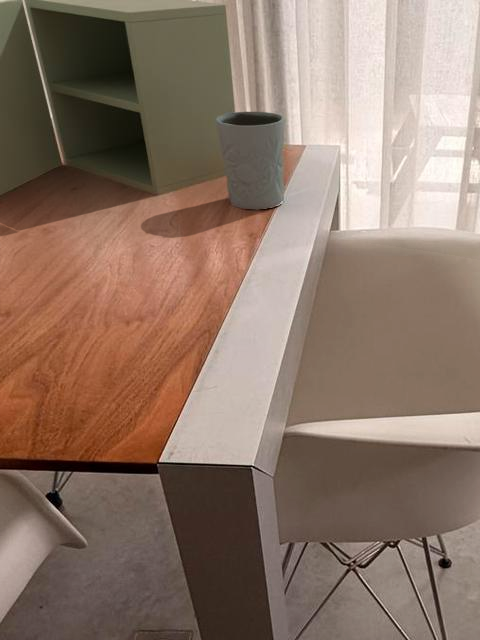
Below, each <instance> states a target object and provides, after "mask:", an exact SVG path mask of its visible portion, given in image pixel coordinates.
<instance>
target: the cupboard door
mask: <svg viewBox="0 0 480 640" xmlns="http://www.w3.org/2000/svg"><path fill="white" fill-rule="evenodd" d="M30 30H31V29H30V25H29V23H28V17H27V14H26V11H25V6H24V0H1V1H0V197H1V196H3V195H4V194H6V193H9V192H11V191H13V190H14V189H15V190H16V189H17V188H19V187H21V186H22V185H25V184H27V183H28V182H30V181H33V180H34V179H36V178H39V177H41V176H43V175H44V174H47V173H49V172H51V171H53V170H55V169H57V168H59V167H60V166H63V160H62V156H61V152H60V148H59V145H58V144H59V143H58V139H57V137H56V136H57V135H56V131H55V127H54V123H53V119H52V115H51V112H50V107H49V104H48V101H47V100H48V98H47V96H46V95H47V94H46V90H45V88H44V87H45V86H44V84H43V83H44V82H43V80H42V79H43V78H42V76H41V75H42V74H41V70H40V68H39V67H40V66H39V63H38V59H37V54H36V51H35V50H36V49H35V47H34V41H33V37H32V33H31V31H30Z"/></svg>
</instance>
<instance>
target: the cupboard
mask: <svg viewBox="0 0 480 640" xmlns="http://www.w3.org/2000/svg"><path fill="white" fill-rule="evenodd" d="M23 2H24V4H25V9H26V13H27V18H28V21H29V27H30V30H31V35H32V39H33V43H34V45H35V50H36V55H37V58H38V59H37V60H38V62H39V63H38V64H39V67H40V72H41V75H42V79H43V83H44V87H45V93H46V95H47V96H46V97H47V100H48V103H49V104H48V105H49V109H50V111H51V112H50V113H51V117H52V121H53V125H54V130H55V134H56V136H57V137H56V138H57V142H58V144H59V145H58V146H59V150H60V154H61V158H62V162H63V165H65V166H69V167H71V168H75V169H76V170H77V169H78V170H81V171H84V172H87V173H90V174H92V175H95V176H98V177H102V178H105V179H108V180H110V181H114V182H117V183H119V184H123V185H126V186H129V187H132V188H134V189H138V190H141V191H143V192H147V193H149V194H153V195H156V196H163V195H164V194H169V193H173V192H175V191H179V190H182V189H186V188H189V187H193V186H196V185H199V184H203V183H207V182H211V181H214V180H217V179H221V178H224V177H226V171H225V168H224V159H223V155H222V151H221V146H220V140H219V134H218V129H217V123H216V118H217V117H219V116H221V115H224V114H228V113H235V112H236V107H235V97H234V96H235V95H234V85H233V74H232V61H231V50H230V37H229V27H228V17H227V5H226V4H225V3H216V2H208V1H199V0H23Z"/></svg>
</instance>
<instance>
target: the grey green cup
mask: <svg viewBox="0 0 480 640" xmlns="http://www.w3.org/2000/svg"><path fill="white" fill-rule="evenodd" d="M216 123H217V129H218V134H219V140H220V146H221V151H222V155H223V159H224V168H225V171H226V176H225V177H226V187H227V193H228V198H229V204H230V205H232V206H233V207H235V206H236V207H235V208H238V207H240V208H239V209H242V208H244V209H243V210H245V209H265V208H270V207H274V206H276V205H278V204H280V203H281V202H282V201H283V200H284V201H285V183H284V181H285V180H284V169H285V168H284V167H285V164H284V147H285V146H284V145H285V117H284V116H283V115H281V114H278V113H274V112H268V111H235V113H228V114H224V115H221V116H219V117H217V118H216ZM284 201H283V202H284Z"/></svg>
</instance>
